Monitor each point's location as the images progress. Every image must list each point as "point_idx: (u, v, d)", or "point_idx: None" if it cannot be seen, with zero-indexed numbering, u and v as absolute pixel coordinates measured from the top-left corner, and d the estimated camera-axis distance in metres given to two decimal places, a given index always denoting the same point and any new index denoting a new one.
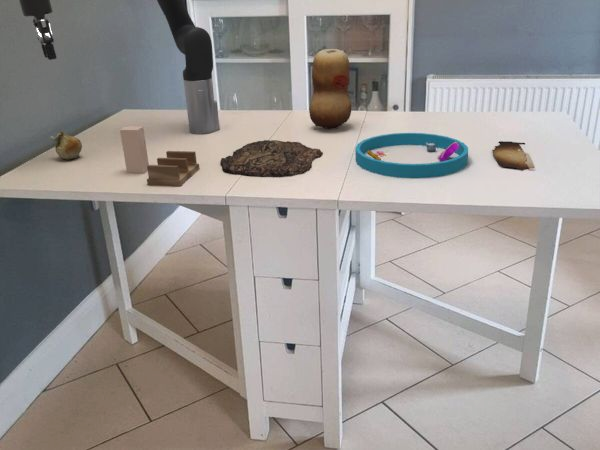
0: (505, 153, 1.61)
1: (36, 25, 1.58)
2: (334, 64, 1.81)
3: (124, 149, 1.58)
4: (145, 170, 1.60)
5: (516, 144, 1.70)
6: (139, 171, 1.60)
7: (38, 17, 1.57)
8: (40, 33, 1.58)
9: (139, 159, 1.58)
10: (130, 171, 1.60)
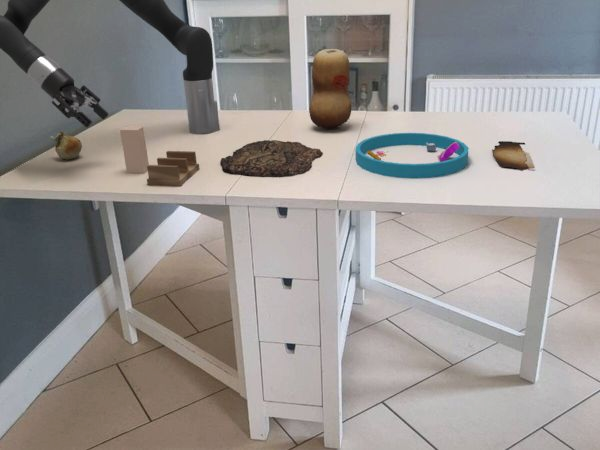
0: (505, 153, 1.61)
1: None
2: (334, 64, 1.81)
3: (124, 149, 1.58)
4: (145, 170, 1.60)
5: (516, 144, 1.70)
6: (139, 171, 1.60)
7: None
8: None
9: (139, 159, 1.58)
10: (130, 171, 1.60)
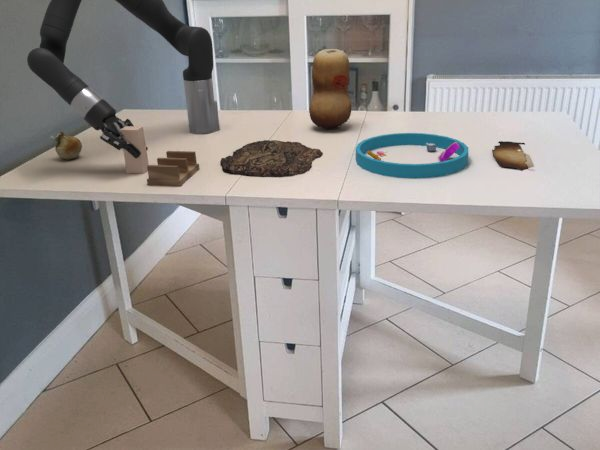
0: (505, 154, 1.61)
1: None
2: (334, 64, 1.81)
3: None
4: (145, 170, 1.60)
5: (516, 144, 1.70)
6: (139, 171, 1.60)
7: (100, 127, 1.54)
8: None
9: (138, 159, 1.58)
10: (130, 171, 1.60)
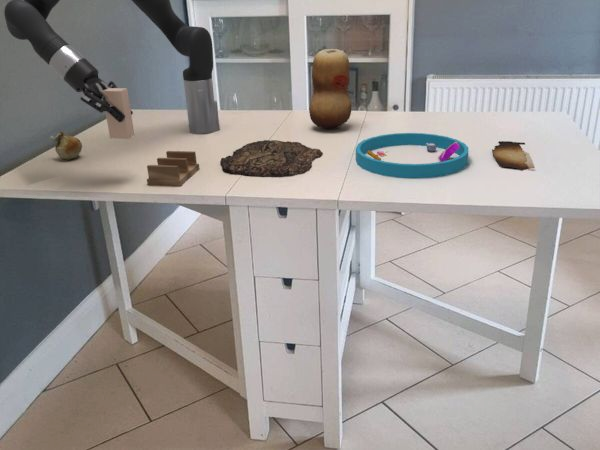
0: (505, 153, 1.61)
1: None
2: (334, 64, 1.81)
3: None
4: (129, 135, 1.50)
5: (516, 144, 1.70)
6: (123, 136, 1.49)
7: (81, 88, 1.44)
8: None
9: (122, 123, 1.48)
10: (113, 136, 1.50)
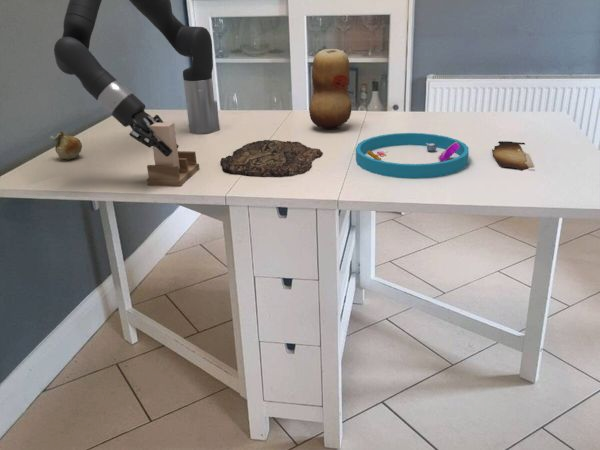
0: (505, 154, 1.61)
1: None
2: (334, 64, 1.81)
3: (154, 147, 1.48)
4: None
5: (516, 144, 1.70)
6: None
7: (129, 123, 1.45)
8: None
9: (169, 157, 1.49)
10: None
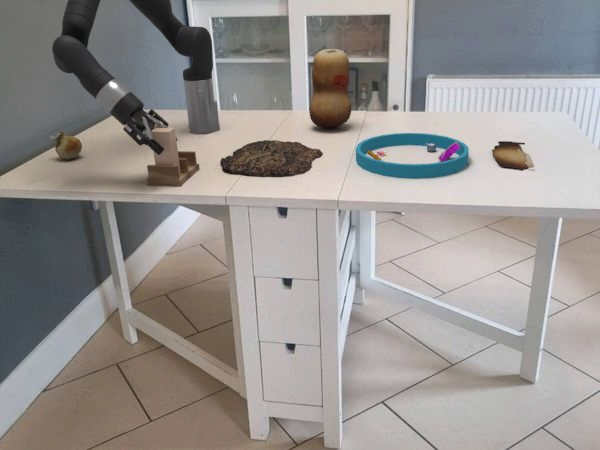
0: (505, 153, 1.61)
1: None
2: (334, 64, 1.81)
3: None
4: None
5: (516, 144, 1.70)
6: None
7: (128, 122, 1.45)
8: (139, 135, 1.46)
9: (170, 162, 1.49)
10: None
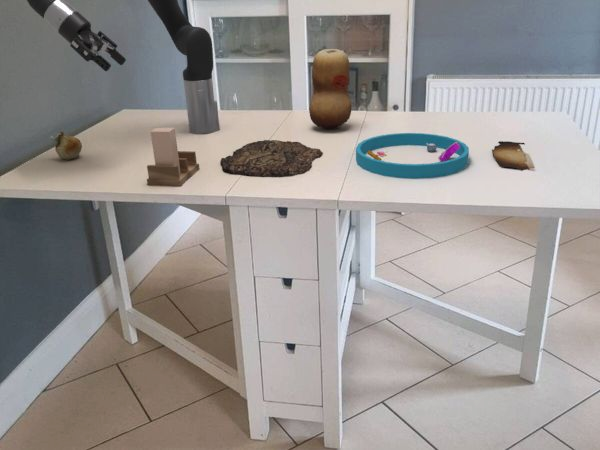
0: (505, 153, 1.61)
1: None
2: (334, 64, 1.81)
3: (155, 152, 1.49)
4: None
5: (515, 144, 1.70)
6: None
7: None
8: (86, 52, 1.52)
9: (170, 162, 1.49)
10: None
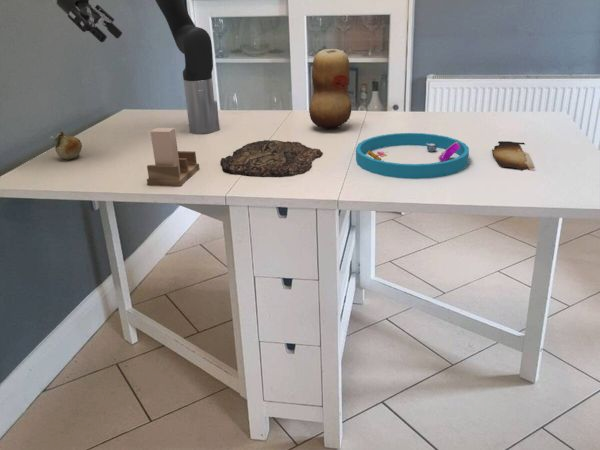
0: (505, 153, 1.61)
1: None
2: (334, 64, 1.81)
3: (155, 152, 1.49)
4: None
5: (515, 144, 1.70)
6: None
7: None
8: (83, 23, 1.56)
9: (170, 162, 1.49)
10: None
